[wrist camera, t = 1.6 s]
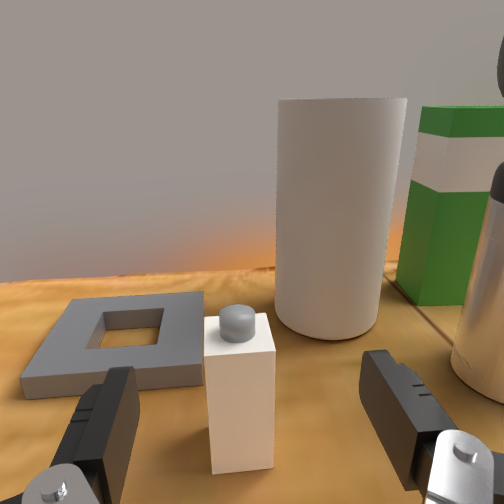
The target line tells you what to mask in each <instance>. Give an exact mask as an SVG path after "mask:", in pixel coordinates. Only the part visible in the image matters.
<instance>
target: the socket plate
mask: <svg viewBox="0 0 504 504" xmlns="http://www.w3.org/2000/svg"><path fill="white" fill-rule="evenodd" d="M204 317H205V306H204V291H202V292H185V293H169V294H152V295H135V296H118V297H101V298H85V299H72V300H71V302H70V303H69V305H68V306H67V308H66V309H65V311H64V312H63V314H62V315H61V317H60V318H59V320H58V321H57V323H56V324H55V326H54V327H53V329H52V330H51V332H50V333H49V335H48V336H47V337H46V339H45V340H44V342H43V343H42V345H41V346H40V348H39V349H38V351H37V352H36V354H35V355H34V357H33V358H32V360H31V361H30V363H29V364H28V366H27V367H26V369H25V370H24V372H23V373H22V375H21V376H20V377H19V379H20V382H21V385H22V388H23V391H24V395H25V398H26V400H29V399H41V398H53V397H65V396H77V395H83V394H84V393H85V392H86V391H87V390H88V389H89V388H90V387H91V386H92V385H93V384H103V383H104V380H105V378H106V375H107V372H108V370H109V368H111V367H125V366H133V367H134V369H135V375H136V382H137V388H138V390H149V389H161V388H173V387H185V386H197V385H203V378H204ZM160 326H161V327H160ZM146 327H160V332H159V337H158V342H157V344H153V345H139V346H125V347H112V348H99V345H100V343H101V341H102V339H103V336H104V334H105V332H106V330H116V329H131V328H146Z"/></svg>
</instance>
